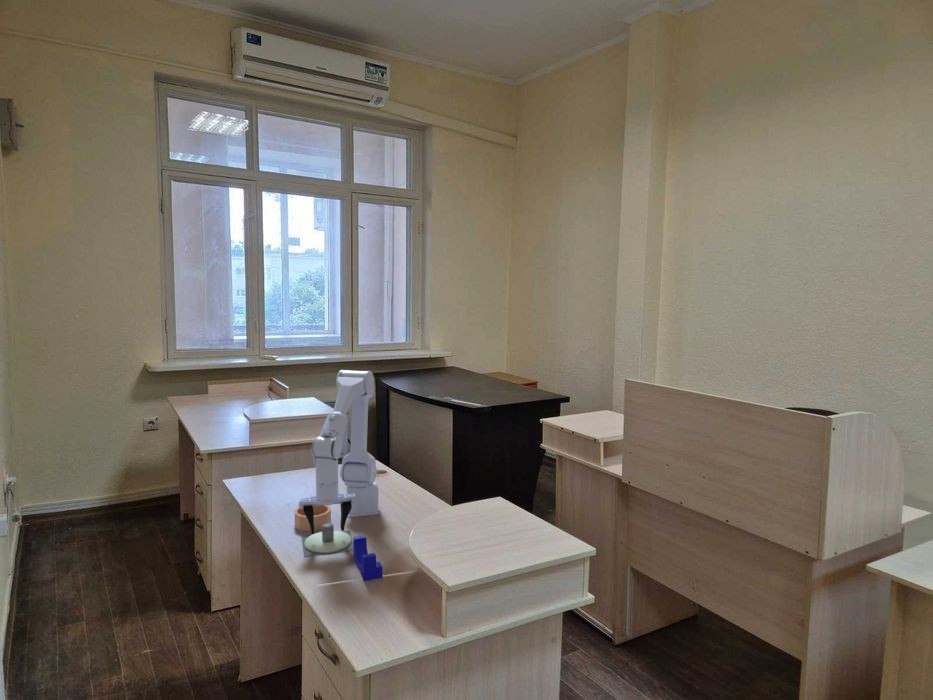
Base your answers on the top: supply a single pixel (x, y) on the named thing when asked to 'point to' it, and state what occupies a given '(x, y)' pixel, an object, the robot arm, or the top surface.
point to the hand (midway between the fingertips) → (327, 530)
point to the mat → (309, 553)
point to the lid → (327, 540)
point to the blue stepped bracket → (366, 559)
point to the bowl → (320, 518)
